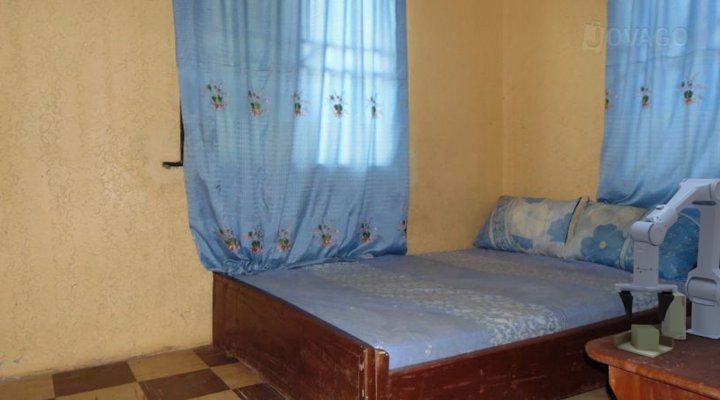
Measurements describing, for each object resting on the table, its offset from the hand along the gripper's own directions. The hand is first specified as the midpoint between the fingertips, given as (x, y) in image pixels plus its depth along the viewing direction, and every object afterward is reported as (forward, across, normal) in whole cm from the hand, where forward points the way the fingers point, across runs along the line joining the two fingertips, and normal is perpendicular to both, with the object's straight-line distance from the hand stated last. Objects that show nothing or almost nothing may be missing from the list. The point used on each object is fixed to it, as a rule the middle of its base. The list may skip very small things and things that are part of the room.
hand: (645, 319), depth 139 cm
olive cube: (+7, 0, 0) cm, 7 cm away
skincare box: (+8, +11, +12) cm, 18 cm away
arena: (+8, 0, +1) cm, 8 cm away
